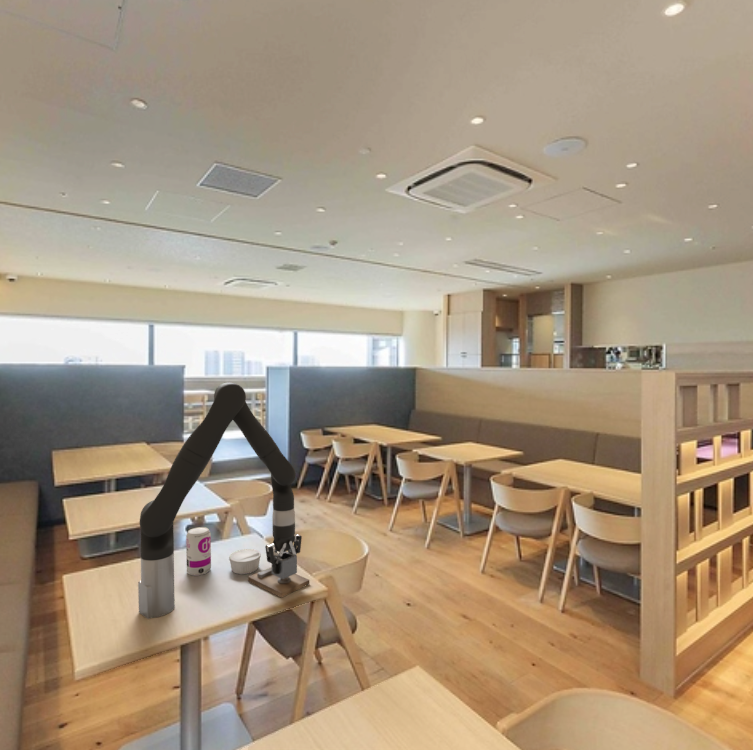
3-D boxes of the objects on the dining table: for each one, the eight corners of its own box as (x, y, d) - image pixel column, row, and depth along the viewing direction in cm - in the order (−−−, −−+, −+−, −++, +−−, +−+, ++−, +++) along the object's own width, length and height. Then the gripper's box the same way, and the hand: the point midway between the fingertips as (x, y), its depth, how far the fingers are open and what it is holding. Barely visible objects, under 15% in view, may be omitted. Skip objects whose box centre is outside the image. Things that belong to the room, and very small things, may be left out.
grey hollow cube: (283, 579, 158) (282, 561, 157) (271, 573, 162) (271, 556, 161) (296, 572, 162) (296, 555, 162) (285, 567, 166) (285, 550, 166)
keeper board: (281, 597, 154) (281, 574, 153) (248, 580, 165) (248, 559, 165) (309, 584, 163) (309, 562, 163) (276, 569, 174) (275, 548, 174)
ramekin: (253, 577, 168) (253, 562, 168) (223, 574, 170) (223, 560, 170) (265, 563, 179) (265, 549, 179) (237, 561, 181) (237, 547, 181)
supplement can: (215, 569, 174) (215, 529, 173) (196, 578, 167) (195, 536, 166) (201, 564, 178) (200, 524, 178) (181, 572, 171) (181, 531, 171)
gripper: (273, 529, 153) (274, 581, 154) (307, 518, 164) (307, 566, 165) (259, 524, 158) (260, 574, 159) (293, 513, 169) (293, 560, 170)
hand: (284, 570), depth 162 cm, fingers closed on grey hollow cube, 6 cm apart
